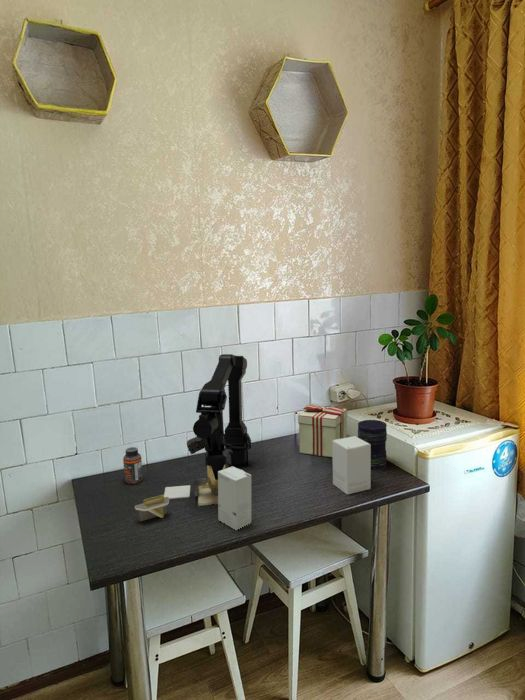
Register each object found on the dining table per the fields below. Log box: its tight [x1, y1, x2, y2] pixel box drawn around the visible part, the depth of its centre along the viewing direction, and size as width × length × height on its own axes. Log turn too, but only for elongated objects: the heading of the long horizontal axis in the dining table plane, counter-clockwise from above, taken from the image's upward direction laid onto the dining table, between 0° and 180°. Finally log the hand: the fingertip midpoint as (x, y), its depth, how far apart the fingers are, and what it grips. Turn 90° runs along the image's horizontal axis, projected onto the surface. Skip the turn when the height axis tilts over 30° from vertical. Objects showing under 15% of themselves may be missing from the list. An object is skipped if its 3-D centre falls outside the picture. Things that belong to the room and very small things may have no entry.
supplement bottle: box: [122, 446, 144, 485], centre depth 168 cm, size 6×6×11 cm
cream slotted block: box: [193, 477, 218, 507], centre depth 156 cm, size 14×12×5 cm
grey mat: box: [163, 484, 191, 500], centre depth 159 cm, size 8×8×1 cm
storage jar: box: [357, 419, 388, 472], centre depth 173 cm, size 10×10×15 cm
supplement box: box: [332, 435, 372, 495], centre depth 157 cm, size 9×9×15 cm
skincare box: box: [217, 466, 252, 531], centre depth 138 cm, size 8×6×15 cm
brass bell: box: [200, 464, 226, 490], centre depth 155 cm, size 10×6×7 cm, turn 96°
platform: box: [134, 494, 170, 522], centre depth 142 cm, size 12×18×7 cm, turn 120°
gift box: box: [297, 403, 348, 458], centre depth 191 cm, size 17×18×17 cm
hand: (216, 475), depth 155 cm, fingers closed on brass bell, 6 cm apart
